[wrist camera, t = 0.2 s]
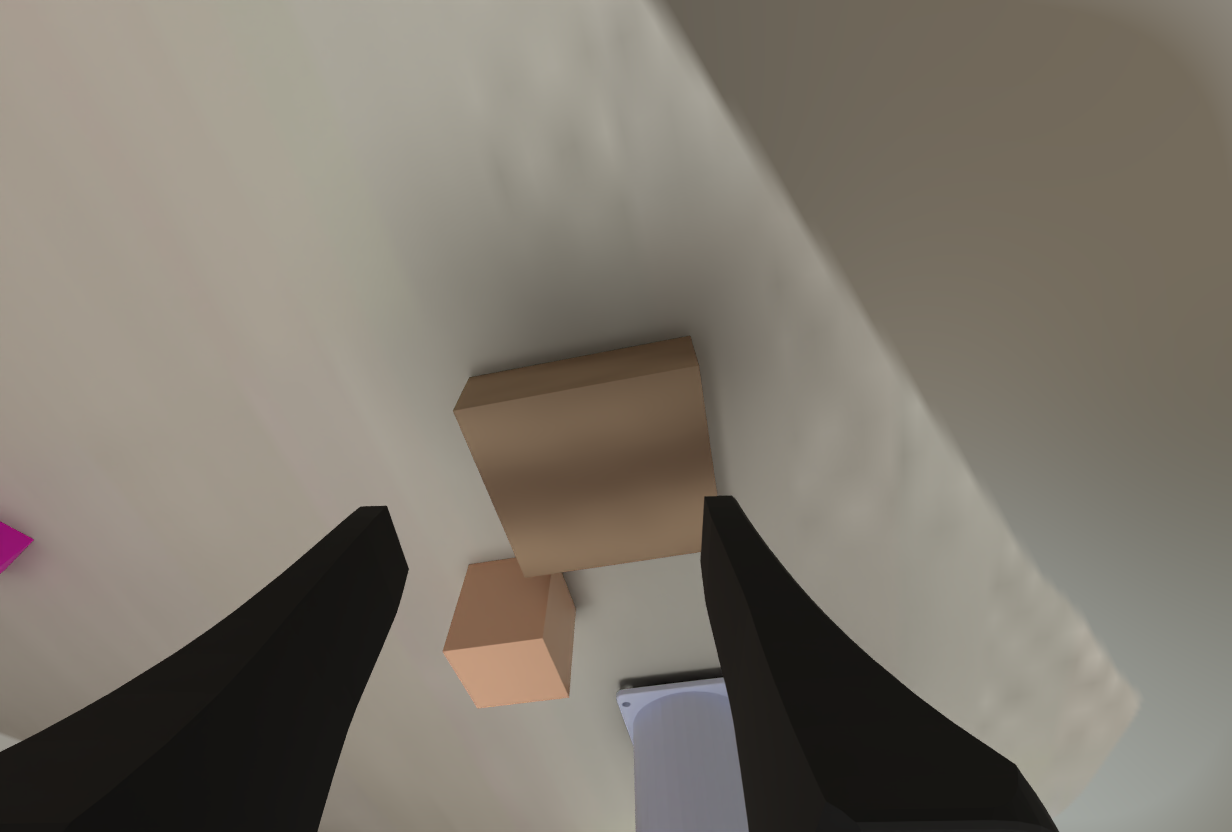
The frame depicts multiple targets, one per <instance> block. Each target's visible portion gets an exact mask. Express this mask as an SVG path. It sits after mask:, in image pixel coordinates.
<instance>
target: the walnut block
mask: <svg viewBox="0 0 1232 832" xmlns="http://www.w3.org/2000/svg"><path fill="white" fill-rule="evenodd" d="M453 412H454V414H455V417H456V419H457V421H458V424H459V426H460V428H461V431H462V433H463V435H464V438H465V440H466V442H467V445H468V447H469V449H470V452H471V454H472V456H473V459H474V461H475V463H476V466H477V468H478V470H479V473H480V475H481V477H482V479H483V482H484V484H485V486H486V489H487V491H488V493H489V496H490V498H491V500H492V503H493V505H494V507H495V510H496V512H497V514H498V517H499V519H500V521H501V524H502V526H503V528H504V531H505V533H506V535H507V538H508V540H509V542H510V544H511V547H512V549H513V551H514V554H515V556H516V558H517V561H518V563H519V565H520V568H521V570H522V572H523V575H524V577H525V578H528V577H534V576H541V575H548V574H555V573H561V572H568V571H575V570H582V569H588V568H595V567H602V566H609V565H615V564H622V563H629V562H636V561H642V560H649V559H656V558H663V557H669V556H676V555H683V554H690V553H696V552H701V543H702V526H703V509H704V496H717V490H716V483H715V476H714V469H713V462H712V455H711V448H710V441H709V433H708V426H707V419H706V412H705V405H704V398H703V391H702V384H701V377H700V370H699V364H698V361H697V357H696V354H695V351H694V347H693V344H692V340H691V337H690V336H686V337H680V338H675V339H670V340H664V341H659V342H654V343H649V344H643V345H638V346H633V347H628V348H622V349H617V350H612V351H606V352H601V353H596V354H591V355H585V356H580V357H575V358H569V359H564V360H559V361H554V362H548V363H543V364H538V365H533V366H527V367H522V368H517V369H511V370H506V371H501V372H496V373H490V374H485V375H480V376H474V377H469V379H468V381H467V383H466V385H465V387H464V389H463V391H462V393H461V396H460V398H459V400H458V402H457V404H456V406H455V408H454V410H453Z"/></svg>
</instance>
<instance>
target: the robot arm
mask: <svg viewBox="0 0 1232 832" xmlns="http://www.w3.org/2000/svg"><path fill="white" fill-rule="evenodd" d="M700 562H701V570H702V578H703V586H704V594H705V601H706V607H707V611H708V615H709V619H710V624H711V628H712V632H713V636H714V640H715V645H716V649H717V653H718V657H719V661H720V665H721V669H722V674H723V677H721V678H712V679H704V680H696V681H687V682H679V683H671V684H662V685H654V686H646V687H637V688H629V689H622V690H619V691H618V692H617V693H616V700H617V703H618V706H619V708H620V711H621V714H622V716H623V719H624V722H625V725H626V727H627V730H628V733H629V735H630V738H631V741H632V744H633V746H634V781H635V820H636V832H1059V831H1058V829H1057V827H1056V825H1055V824H1054V822H1053V820H1052V819H1051V817H1050V815H1049V814H1048V812H1047V810H1046V808H1045V807H1044V805H1043V804H1042V802H1041V801H1040V799H1039V798H1038V796H1037V794H1036V793H1035V792H1034V790H1033V789H1032V787H1031V786H1030V785H1029V783H1028V782H1027V781H1026V779H1025V778H1024V776H1023V775H1022V774H1021V772H1020V770H1019V769H1018V767H1017V766H1016V765H1015V764H1014V763H1012V762H1011V761H1009V760H1008V759H1006V758H1005V757H1004V756H1002V755H1001V754H999V753H998V752H996V751H995V750H993V749H992V748H990V747H989V746H987V745H986V744H984V743H983V742H981V741H980V740H978V739H977V738H975V737H974V736H972V735H971V734H969V733H968V732H966V731H965V730H964V729H962V728H961V727H959V726H958V725H956V724H955V723H953V722H952V721H950V720H949V719H948V718H946V717H945V716H944V715H942V714H941V713H940V712H938V711H937V710H936V709H934V708H933V707H932V706H930V705H929V704H928V703H926V702H925V701H924V700H922V699H921V698H920V697H918V696H917V695H916V694H914V693H913V692H912V691H911V690H910V689H908V688H907V687H906V686H905V685H904V684H902V683H901V682H900V681H899V680H898V679H896V678H895V677H894V676H893V675H891V674H890V673H889V672H888V671H887V670H885V669H884V668H883V667H882V666H881V665H879V664H878V663H877V662H876V661H875V660H873V659H872V658H871V657H870V656H869V655H868V654H867V653H866V652H864V651H863V650H862V649H861V648H860V647H859V646H858V645H857V644H856V643H855V642H854V641H853V640H851V639H850V638H849V637H848V636H847V635H846V634H845V633H844V632H843V631H842V630H841V629H840V628H839V627H838V626H837V625H836V624H835V623H834V622H833V621H832V620H831V619H830V618H829V617H828V616H827V615H826V614H825V613H824V612H823V611H822V610H821V609H820V608H819V607H818V606H817V604H816V603H815V602H814V601H813V600H812V599H811V598H810V597H809V596H808V595H807V593H806V592H805V591H804V590H803V589H802V588H801V587H800V586H799V584H798V583H797V582H796V581H795V580H794V579H793V577H792V576H791V575H790V574H789V573H788V571H787V570H786V569H785V568H784V566H783V565H782V564H781V563H780V561H779V560H778V559H777V557H776V556H775V555H774V554H773V552H772V551H771V550H770V549H769V547H768V546H767V545H766V543H765V542H764V541H763V539H762V538H761V536H760V535H759V534H758V532H757V531H756V529H755V528H754V527H753V525H752V524H751V522H750V521H749V519H748V518H747V516H746V515H745V513H744V512H743V510H742V508H741V507H740V505H739V504H738V502H737V500H736V499H735V498H734V497H733V496H704V509H703V526H702V543H701V560H700ZM408 570H409V568H408V565H407V562H406V560H405V557H404V554H403V551H402V548H401V545H400V542H399V539H398V537H397V534H396V531H395V528H394V525H393V522H392V519H391V516H390V513H389V511H388V508H387V506H364V507H359V508H358V509H357V510H356V511H354V512H353V513H352V514H351V515H350V516H348V517H347V518H346V519H345V520H344V521H342V522H341V523H340V524H339V525H338V526H337V527H335V528H334V529H333V530H332V531H331V532H330V533H329V534H327V535H326V536H325V537H324V538H323V539H322V540H321V541H319V542H318V543H317V544H316V545H315V546H314V547H312V548H311V549H310V550H309V551H308V552H307V553H305V554H304V555H303V556H302V557H301V558H300V559H298V560H297V561H296V562H295V563H294V564H293V565H291V566H290V567H289V568H288V569H287V570H285V571H284V572H283V573H282V574H281V575H280V576H278V577H277V578H276V579H274V580H273V581H272V582H271V583H269V584H268V585H267V586H266V587H264V588H263V589H262V590H261V591H259V592H258V593H257V594H256V595H254V596H253V597H252V598H251V599H249V600H248V601H247V602H246V603H244V604H243V605H242V606H240V607H239V608H238V609H237V610H235V611H234V612H233V613H231V614H230V615H229V616H227V617H226V618H225V619H223V620H222V621H220V622H219V623H218V624H216V625H215V626H214V627H212V628H211V629H209V630H208V631H206V632H205V633H204V634H202V635H201V636H199V637H198V638H196V639H195V640H193V641H192V642H190V643H189V644H188V645H186V646H185V647H183V648H182V649H180V650H179V651H177V652H176V653H174V654H173V655H171V656H169V657H168V658H166V659H165V660H163V661H161V662H160V663H158V664H157V665H155V666H153V667H152V668H150V669H149V670H147V671H145V672H144V673H142V674H140V675H139V676H137V677H136V678H134V679H132V680H131V681H129V682H128V683H126V684H124V685H123V686H121V687H120V688H118V689H116V690H115V691H113V692H111V693H109V694H108V695H106V696H104V697H102V698H101V699H99V700H97V701H95V702H94V703H92V704H90V705H88V706H87V707H85V708H83V709H81V710H80V711H78V712H76V713H74V714H72V715H70V716H68V717H67V718H65V719H63V720H61V721H59V722H57V723H56V724H54V725H52V726H50V727H48V728H46V729H44V730H43V731H41V732H39V733H37V734H35V735H33V736H31V737H29V738H27V739H25V740H23V741H21V742H19V743H17V744H15V745H13V746H11V747H9V748H7V749H5V750H3V751H1V752H0V832H317V831H318V827H319V824H320V820H321V817H322V814H323V810H324V807H325V803H326V800H327V796H328V793H329V789H330V786H331V783H332V779H333V776H334V773H335V769H336V766H337V763H338V760H339V757H340V754H341V751H342V747H343V744H344V741H345V738H346V735H347V732H348V729H349V726H350V723H351V721H352V718H353V716H354V713H355V710H356V708H357V705H358V703H359V701H360V698H361V696H362V694H363V691H364V689H365V687H366V684H367V682H368V680H369V677H370V675H371V673H372V670H373V668H374V666H375V663H376V661H377V659H378V656H379V654H380V652H381V649H382V647H383V645H384V642H385V640H386V637H387V635H388V633H389V630H390V628H391V625H392V623H393V621H394V618H395V616H396V613H397V610H398V607H399V604H400V600H401V597H402V593H403V590H404V586H405V582H406V578H407V574H408Z"/></svg>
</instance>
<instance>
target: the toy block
mask: <svg viewBox="0 0 1232 832" xmlns="http://www.w3.org/2000/svg"><path fill="white" fill-rule="evenodd" d="M33 540H34V539H32V538H30V537H28V536H26V535H25V534H23V533H21V532H19V531H17V530H15V529H13V528H11V527H10V526H8V525H6V524H4V523H2V522H0V574H1V573H2V572H3V571H4V570H5V569H6V568H7V567H8V566H9V565H10V564H11V563H12V562H13V561H14V560H15V559H16V558H17V557H18V556H19V555H20V554H21V552H22V551H23V550H24V549H25V548H26V547H27V546H28V545H29V544H30V543H31V542H32V541H33Z"/></svg>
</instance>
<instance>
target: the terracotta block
mask: <svg viewBox="0 0 1232 832" xmlns="http://www.w3.org/2000/svg"><path fill="white" fill-rule="evenodd" d="M575 614H576V608H575V606H574V603H573V601H572V598H571V595H570V593H569V590H568V587H567V585H566V582H565V579H564V577H563V574H562V572H561V573H555V574H548V575H541V576H534V577H528V578H525V577H524V575H523V572H522V570H521V568H520V565H519V563H518V561H517V558H509V559H503V560H496V561H489V562H483V563H476V564H469V566H468V570H467V573H466V576H465V579H464V583H463V586H462V589H461V593H460V596H459V599H458V603H457V606H456V609H455V612H454V616H453V619H452V622H451V626H450V629H449V632H448V636H447V639H446V642H445V645H444V649H443V653H444V655H445V656H446V658H447V659H448V661H449V663H450V664H451V666H452V668H453V669H454V671H455V672H456V674H457V676H458V677H459V679H460V681H461V682H462V684H463V685H464V687H465V689H466V690H467V692H468V693H469V695H470V697H471V698H472V700H473V702H474V703H475V705H476V706H477V708H485V707H494V706H502V705H510V704H519V703H527V702H535V701H544V700H552V699H560V698H569V692H570V679H571V666H572V653H573V640H574V627H575Z"/></svg>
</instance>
